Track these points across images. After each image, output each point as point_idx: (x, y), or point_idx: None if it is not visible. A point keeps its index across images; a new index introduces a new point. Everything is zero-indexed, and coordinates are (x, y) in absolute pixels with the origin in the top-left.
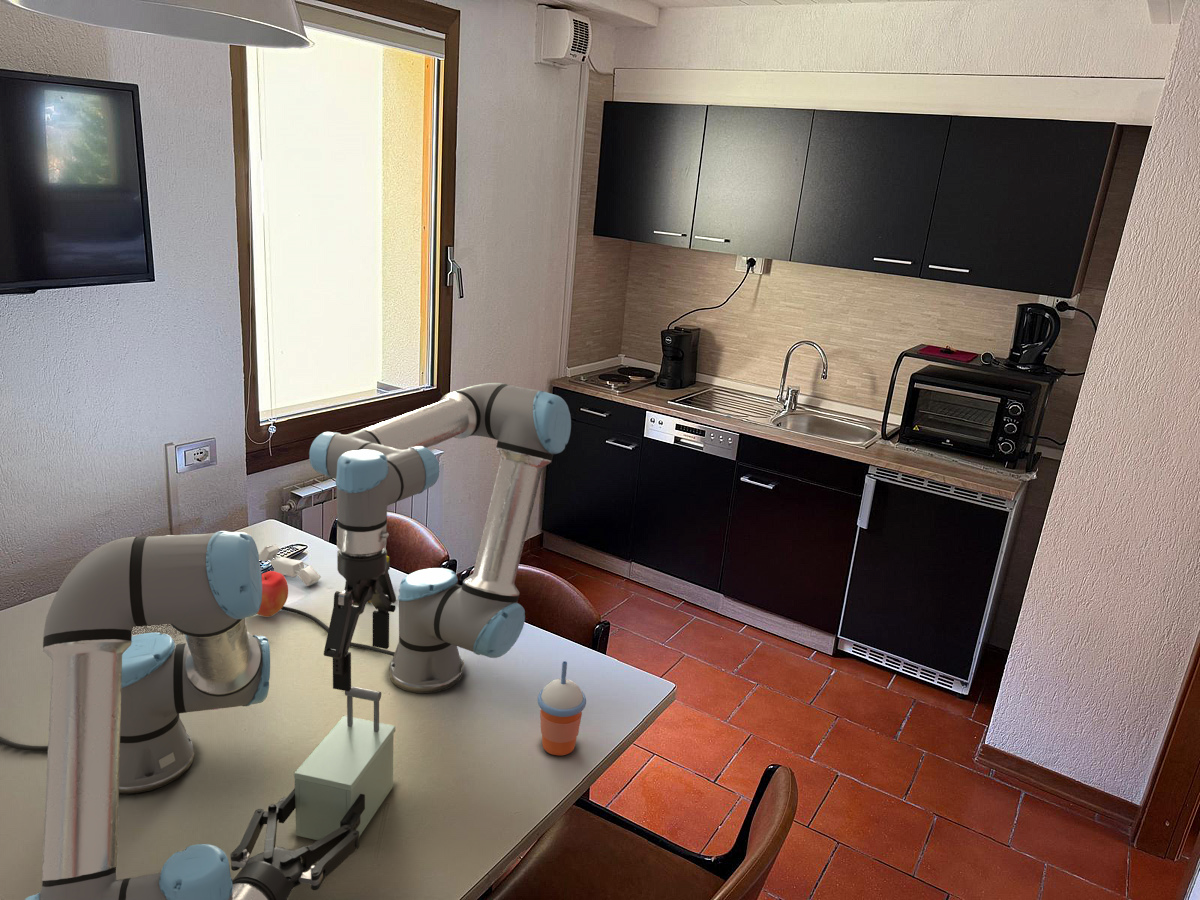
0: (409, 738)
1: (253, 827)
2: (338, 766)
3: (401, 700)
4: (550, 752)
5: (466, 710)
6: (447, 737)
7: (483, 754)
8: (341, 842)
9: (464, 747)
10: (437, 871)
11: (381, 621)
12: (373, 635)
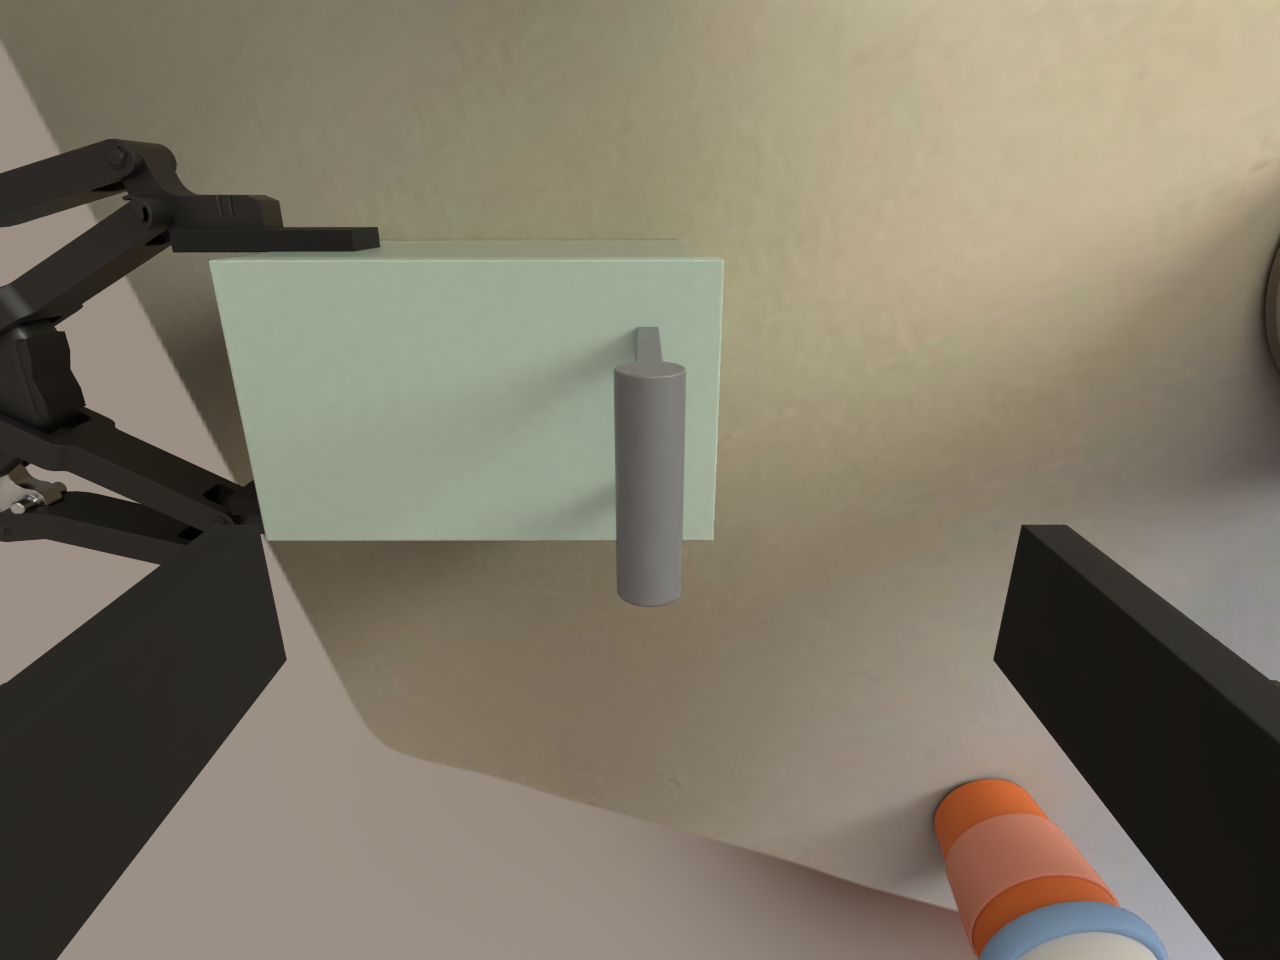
0: (948, 383)
1: (33, 192)
2: (345, 435)
3: (1207, 243)
4: (939, 810)
5: (1151, 513)
6: (976, 507)
7: (904, 639)
8: (154, 543)
9: (929, 576)
10: (404, 676)
11: (1217, 854)
12: (1095, 597)
